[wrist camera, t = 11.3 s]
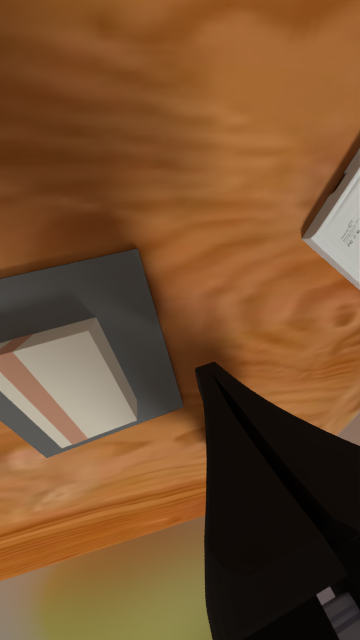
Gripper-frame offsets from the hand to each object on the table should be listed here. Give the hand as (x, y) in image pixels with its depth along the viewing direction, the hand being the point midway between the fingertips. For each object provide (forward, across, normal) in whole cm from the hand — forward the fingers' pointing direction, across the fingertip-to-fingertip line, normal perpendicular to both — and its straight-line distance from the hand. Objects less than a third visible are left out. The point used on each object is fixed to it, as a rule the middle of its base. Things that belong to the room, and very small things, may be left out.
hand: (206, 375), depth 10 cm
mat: (+4, +9, 0) cm, 10 cm away
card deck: (+3, +6, 0) cm, 7 cm away
